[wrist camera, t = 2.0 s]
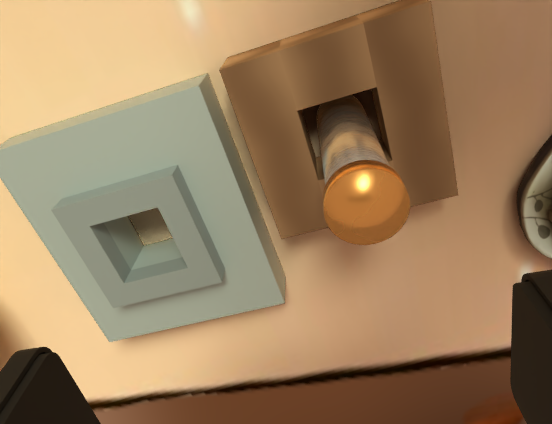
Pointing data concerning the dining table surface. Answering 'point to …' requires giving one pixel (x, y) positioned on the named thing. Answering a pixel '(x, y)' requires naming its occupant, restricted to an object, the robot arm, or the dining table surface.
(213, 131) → the dock plate
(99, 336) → the dining table surface
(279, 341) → the dining table surface
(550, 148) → the avocado toast plate
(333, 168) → the pin
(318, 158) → the block
